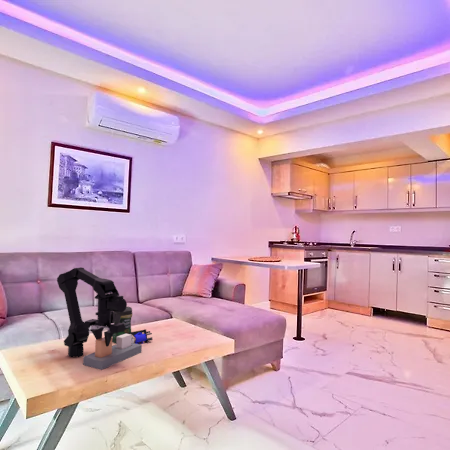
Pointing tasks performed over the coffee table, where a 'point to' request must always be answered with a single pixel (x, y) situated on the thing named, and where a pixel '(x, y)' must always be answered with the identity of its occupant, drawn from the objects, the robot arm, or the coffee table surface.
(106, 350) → the terracotta plug
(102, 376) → the coffee table surface
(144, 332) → the character figurine
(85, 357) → the header
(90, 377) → the coffee table surface
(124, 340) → the pale pink plug
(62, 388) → the coffee table surface
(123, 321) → the coffee jar
